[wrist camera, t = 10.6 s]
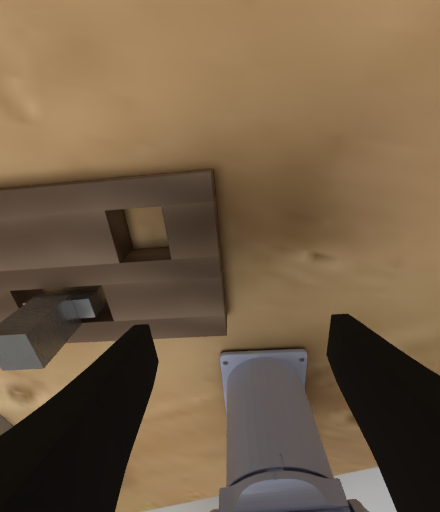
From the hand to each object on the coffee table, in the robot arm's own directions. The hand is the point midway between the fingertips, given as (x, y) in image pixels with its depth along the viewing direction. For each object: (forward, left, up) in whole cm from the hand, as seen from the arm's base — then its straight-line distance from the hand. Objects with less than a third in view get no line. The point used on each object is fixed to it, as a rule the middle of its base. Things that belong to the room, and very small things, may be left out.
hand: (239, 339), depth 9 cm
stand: (0, +10, -9) cm, 14 cm away
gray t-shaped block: (-3, +13, -10) cm, 16 cm away
